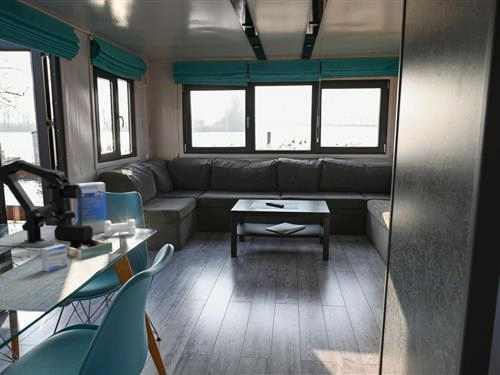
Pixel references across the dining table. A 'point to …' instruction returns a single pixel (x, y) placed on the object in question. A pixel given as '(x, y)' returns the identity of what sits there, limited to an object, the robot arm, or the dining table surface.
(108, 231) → the bone shaped toy
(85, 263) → the dining table surface
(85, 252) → the charging rails
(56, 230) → the security camera
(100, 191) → the string lights box
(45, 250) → the medicine box
